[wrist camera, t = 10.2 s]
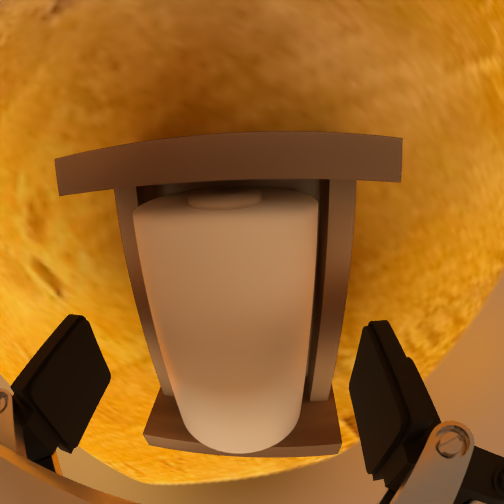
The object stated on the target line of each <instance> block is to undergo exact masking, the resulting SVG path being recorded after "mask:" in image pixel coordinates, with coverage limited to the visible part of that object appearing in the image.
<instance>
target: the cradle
mask: <svg viewBox="0 0 504 504" xmlns="http://www.w3.org/2000/svg"><path fill="white" fill-rule="evenodd" d="M55 167H56V176H57V183H58V190H59V196H64V195H70V194H77V193H84V192H92V191H100V190H108V189H114V192H115V199H116V206H117V213H118V219H119V225H120V231H121V237H122V242H123V248H124V253H125V258H126V263H127V267H128V272H129V277H130V281H131V285H132V290H133V294H134V298H135V302H136V306H137V310H138V314H139V317H140V321H141V325H142V328H143V332H144V335H145V339H146V342H147V345H148V349H149V352H150V355H151V358H152V361H153V364H154V367H155V370H156V373H157V376H158V379H159V382H160V385H161V388H160V390H159V393H158V395H157V398H156V400H155V403H154V406H153V408H152V411H151V413H150V416H149V419H148V421H147V424H146V427H145V429H144V432H143V435H144V437H145V439H146V441H147V442H148V444H149V445H152V446H157V447H162V448H168V449H174V450H180V451H187V452H194V453H203V454H212V455H224V456H239V457H307V456H321V455H333V454H338V452H339V450H340V447H341V445H342V440H341V433H340V427H339V421H338V416H337V410H336V404H335V399H334V393H333V388H332V378H333V373H334V368H335V363H336V358H337V353H338V347H339V342H340V336H341V330H342V324H343V317H344V311H345V304H346V296H347V289H348V281H349V272H350V263H351V253H352V243H353V231H354V217H355V201H356V180H367V181H386V182H401V171H402V138H397V137H388V136H378V135H367V134H354V133H338V132H312V131H261V132H235V133H218V134H205V135H193V136H183V137H174V138H166V139H158V140H150V141H143V142H137V143H130V144H124V145H118V146H113V147H107V148H102V149H97V150H92V151H87V152H83V153H78V154H74V155H69V156H65V157H61V158H57V159H55ZM222 186H268V187H278V188H286V189H291V190H296V191H300V192H303V193H306V194H309V195H311V196H313V197H314V198H315V199H316V200H317V201H318V226H317V248H316V265H315V281H314V294H313V306H312V318H311V329H310V339H309V348H308V357H307V366H306V374H305V382H304V390H303V397H302V404H301V411H300V416H299V419H298V421H297V424H296V425H295V427H294V429H293V430H292V431H291V432H290V433H289V435H287V436H286V437H285V438H284V439H283V440H281V441H280V442H279V443H277V444H275V445H273V446H271V447H269V448H267V449H264V450H261V451H257V452H252V453H244V454H237V453H226V452H222V451H218V450H215V449H212V448H210V447H208V446H206V445H204V444H202V443H201V442H199V441H198V440H197V439H195V438H194V437H193V436H192V435H191V433H190V432H189V431H188V429H187V428H186V426H185V424H184V422H183V419H182V416H181V413H180V411H179V408H178V405H177V402H176V399H175V396H174V393H173V390H172V386H171V383H170V380H169V377H168V374H167V370H166V367H165V363H164V360H163V356H162V353H161V349H160V346H159V342H158V338H157V334H156V331H155V327H154V323H153V319H152V314H151V310H150V306H149V302H148V297H147V293H146V288H145V283H144V278H143V273H142V268H141V263H140V258H139V252H138V246H137V240H136V234H135V228H134V221H133V212H134V210H135V209H136V208H137V207H139V206H140V205H142V204H144V203H146V202H148V201H150V200H153V199H156V198H159V197H162V196H165V195H169V194H173V193H178V192H183V191H188V190H194V189H202V188H210V187H222Z"/></svg>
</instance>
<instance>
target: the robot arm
mask: <svg viewBox="0 0 504 504" xmlns="http://www.w3.org/2000/svg"><path fill="white" fill-rule="evenodd" d="M110 379H111V374H110V371H109V369H108V367H107V364H106V362H105V360H104V358H103V355H102V353H101V351H100V348H99V346H98V344H97V341H96V339H95V336H94V334H93V331H92V328H91V326H90V323H89V322H88V321H87V320H86V318H85V317H84V316H82V315H73V314H70V315H68V316H67V317H66V318H65V319H64V320H63V321H62V323H61V324H60V325H59V326H58V327H57V328H56V330H55V331H54V332H53V333H52V334H51V336H50V337H49V338H48V339H47V340H46V342H45V343H44V344H43V345H42V346H41V348H40V349H39V350H38V351H37V353H36V354H35V355H34V356H33V358H32V359H31V360H30V361H29V363H28V364H27V365H26V367H25V368H24V369H23V370H22V372H21V373H20V374H19V376H18V377H17V378H16V380H15V381H14V382H13V384H12V385H11V389H12V390H13V392H14V395H13V396H12V395H11V393H10V392H9V391H8V390H6V389H0V504H139V503H136V502H132V501H129V500H125V499H122V498H119V497H115V496H112V495H109V494H106V493H103V492H101V491H98V490H95V489H92V488H90V487H87V486H85V485H82V484H80V483H77V482H75V481H72V480H70V479H68V478H65V477H63V475H62V471H61V468H60V464H59V461H58V457H57V453H56V448H57V446H58V447H59V448H60V449H61V450H63V451H65V452H68V453H70V454H71V453H72V451H73V449H74V448H76V447H77V446H78V444H79V442H80V440H81V438H82V436H83V434H84V432H85V430H86V428H87V425H88V423H89V421H90V419H91V417H92V415H93V413H94V411H95V409H96V407H97V405H98V403H99V401H100V399H101V398H102V396H103V394H104V392H105V390H106V388H107V386H108V384H109V382H110ZM349 392H350V396H351V400H352V405H353V409H354V413H355V418H356V422H357V427H358V431H359V436H360V441H361V446H362V451H363V456H364V460H365V466H366V471H367V473H368V474H372V475H373V480H374V481H375V480H380V479H384V482H385V487H387V489H386V490H385V492H384V494H383V495H382V497H381V498H380V500H379V501H378V503H377V504H504V457H501V456H499V455H496V454H494V453H491V452H488V451H486V450H484V449H481V448H479V447H476V446H474V437H473V434H472V432H471V431H470V429H469V428H468V427H467V426H466V425H464V424H462V423H460V422H457V421H445V422H443V423H441V421H440V418H439V416H438V414H437V411H436V409H435V407H434V405H433V402H432V400H431V398H430V396H429V394H428V391H427V389H426V387H425V385H424V383H423V380H422V378H421V376H420V374H419V372H418V370H417V368H416V366H415V364H414V362H413V361H412V359H411V358H409V357H406V355H405V353H404V351H403V349H402V347H401V345H400V343H399V341H398V339H397V337H396V335H395V333H394V331H393V329H392V327H391V326H390V324H389V322H388V321H387V320H381V321H370V322H369V324H368V326H364V327H363V330H362V335H361V339H360V343H359V348H358V352H357V356H356V360H355V364H354V368H353V371H352V375H351V379H350V383H349Z"/></svg>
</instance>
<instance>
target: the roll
mask: <svg viewBox="0 0 504 504" xmlns="http://www.w3.org/2000/svg"><path fill="white" fill-rule="evenodd" d="M133 221H134V228H135V234H136V240H137V246H138V252H139V258H140V263H141V268H142V273H143V278H144V283H145V288H146V293H147V297H148V302H149V306H150V310H151V314H152V319H153V323H154V327H155V331H156V334H157V338H158V342H159V346H160V349H161V353H162V356H163V360H164V363H165V367H166V370H167V374H168V377H169V380H170V383H171V386H172V390H173V393H174V396H175V399H176V402H177V405H178V408H179V411H180V413H181V416H182V419H183V422H184V424H185V426H186V428H187V429H188V431H189V432H190V433H191V435H192V436H193V437H194V438H195V439H197V440H198V441H199V442H201V443H202V444H204V445H206V446H208V447H210V448H212V449H215V450H218V451H222V452H226V453H237V454H244V453H252V452H257V451H261V450H264V449H267V448H269V447H271V446H273V445H275V444H277V443H279V442H280V441H281V440H283V439H284V438H285V437H286V436H287V435H289V433H290V432H291V431H292V430H293V429H294V427H295V425H296V424H297V421H298V419H299V416H300V411H301V404H302V397H303V390H304V382H305V374H306V366H307V357H308V348H309V339H310V329H311V318H312V306H313V294H314V281H315V265H316V248H317V226H318V201H317V200H316V199H315V198H314V197H313V196H311V195H309V194H306V193H303V192H300V191H296V190H291V189H286V188H278V187H268V186H222V187H210V188H202V189H194V190H188V191H183V192H178V193H173V194H169V195H165V196H162V197H159V198H156V199H153V200H150V201H148V202H146V203H144V204H142V205H140V206H139V207H137V208H136V209H135V210H134V212H133Z"/></svg>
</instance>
